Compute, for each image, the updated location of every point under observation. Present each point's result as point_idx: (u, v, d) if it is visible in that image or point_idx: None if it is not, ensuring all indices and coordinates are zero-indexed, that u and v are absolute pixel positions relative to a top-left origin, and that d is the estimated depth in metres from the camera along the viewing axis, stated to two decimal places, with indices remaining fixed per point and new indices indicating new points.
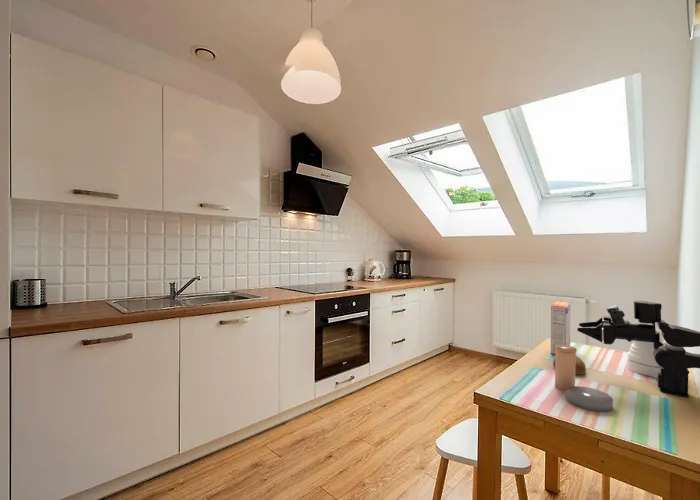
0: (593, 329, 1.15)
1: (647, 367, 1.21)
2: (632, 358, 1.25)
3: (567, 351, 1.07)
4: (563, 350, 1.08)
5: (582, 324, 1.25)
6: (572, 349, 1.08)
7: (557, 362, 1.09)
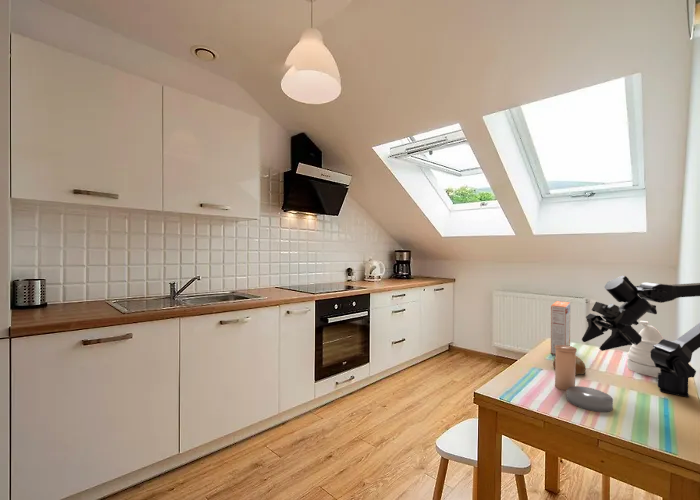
0: (613, 338, 1.03)
1: (647, 367, 1.21)
2: (632, 358, 1.25)
3: (567, 351, 1.07)
4: (563, 350, 1.08)
5: (585, 338, 1.14)
6: (572, 349, 1.08)
7: (557, 362, 1.09)
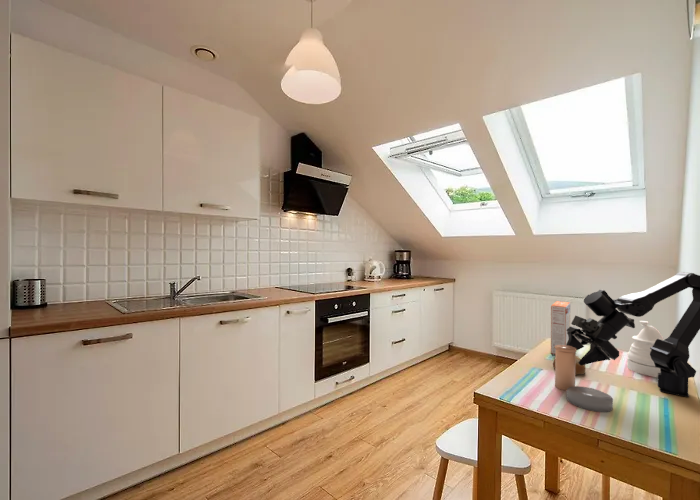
0: (592, 353, 1.03)
1: (647, 367, 1.21)
2: (632, 358, 1.25)
3: (567, 351, 1.07)
4: (563, 350, 1.08)
5: None
6: (572, 349, 1.08)
7: (557, 362, 1.09)
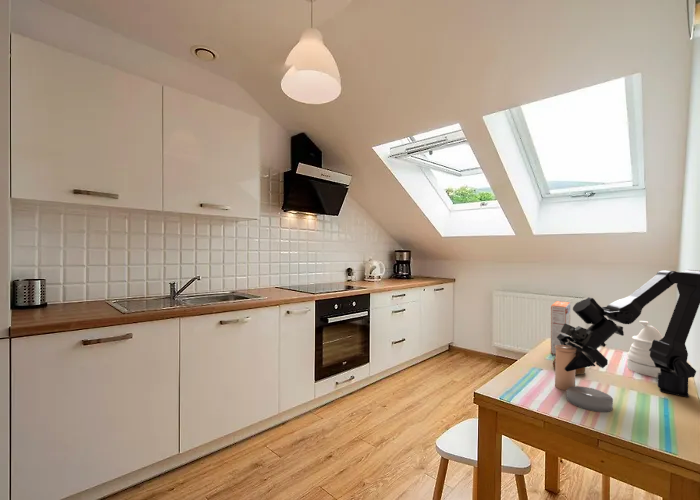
0: (577, 359, 1.05)
1: (647, 367, 1.21)
2: (632, 358, 1.25)
3: (567, 351, 1.07)
4: (563, 350, 1.08)
5: None
6: (572, 349, 1.08)
7: (557, 362, 1.09)
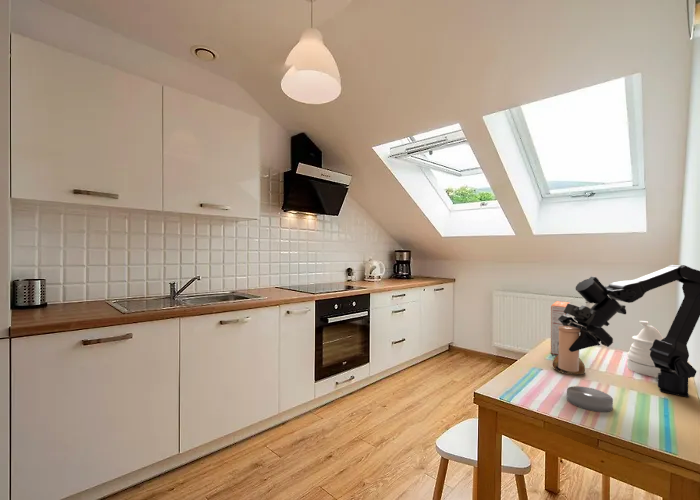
0: (582, 339, 1.03)
1: (647, 367, 1.21)
2: (632, 358, 1.25)
3: (571, 331, 1.05)
4: (567, 330, 1.06)
5: None
6: (576, 329, 1.06)
7: (561, 343, 1.07)
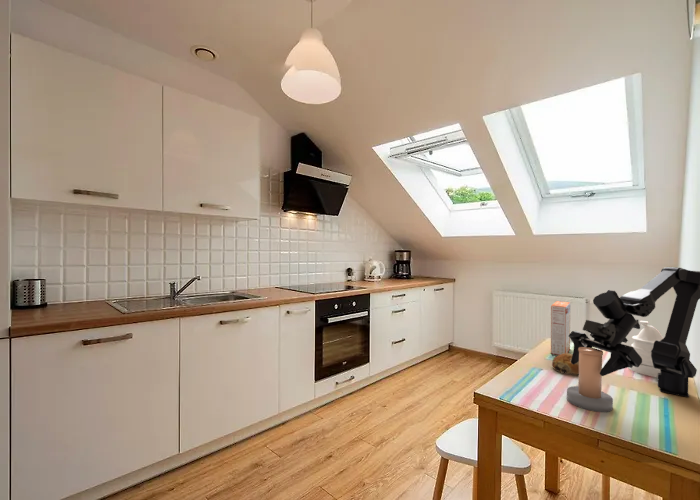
0: (614, 361, 0.93)
1: (647, 367, 1.21)
2: None
3: (596, 354, 0.96)
4: (592, 354, 0.96)
5: (574, 360, 1.03)
6: (599, 351, 0.97)
7: (584, 367, 0.98)
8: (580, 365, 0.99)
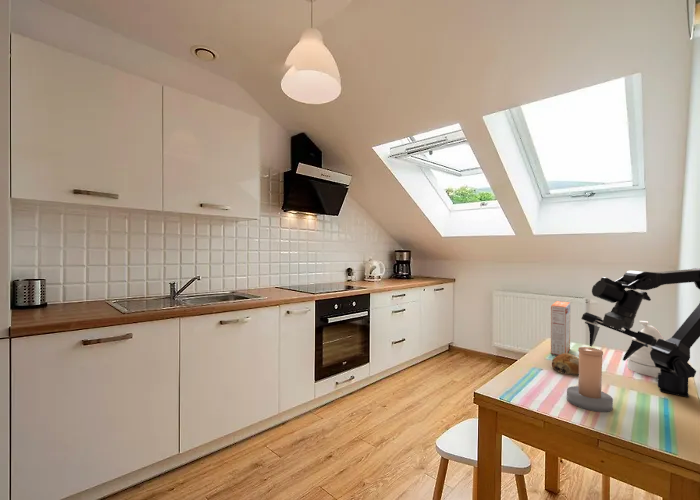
0: None
1: (647, 367, 1.21)
2: (632, 358, 1.25)
3: (596, 354, 0.96)
4: (592, 354, 0.96)
5: (592, 343, 1.12)
6: (599, 351, 0.97)
7: (584, 367, 0.98)
8: (580, 365, 0.99)
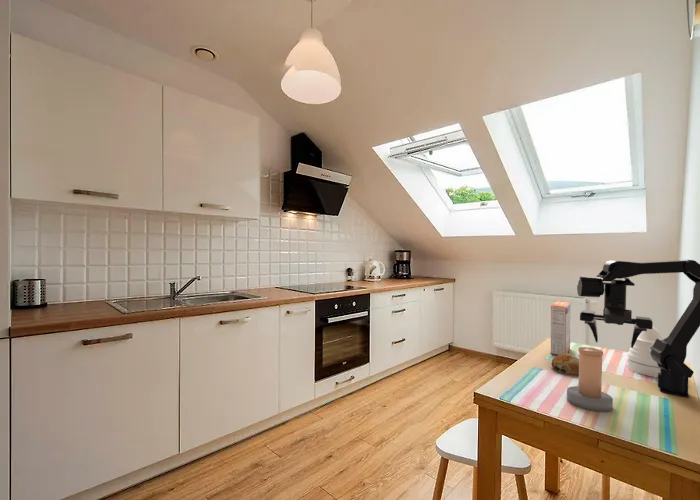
0: None
1: (647, 367, 1.21)
2: (632, 358, 1.25)
3: (597, 354, 0.96)
4: (592, 354, 0.96)
5: (597, 339, 1.16)
6: (599, 351, 0.97)
7: (584, 367, 0.98)
8: (580, 365, 0.99)
